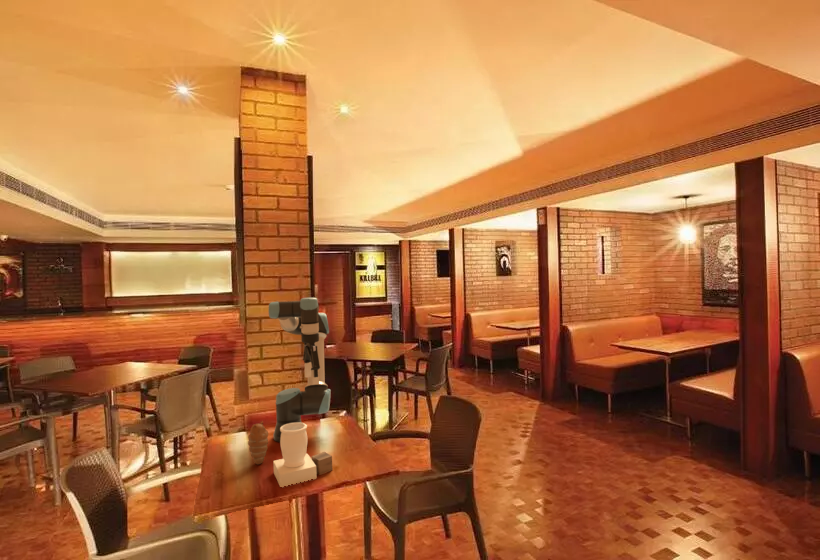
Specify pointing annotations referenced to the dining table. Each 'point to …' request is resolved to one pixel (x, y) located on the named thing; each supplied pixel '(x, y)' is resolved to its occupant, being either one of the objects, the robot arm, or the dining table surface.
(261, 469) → the dining table surface
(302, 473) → the cream block
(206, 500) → the dining table surface
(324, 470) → the walnut cube
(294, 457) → the jar
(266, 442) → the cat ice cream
